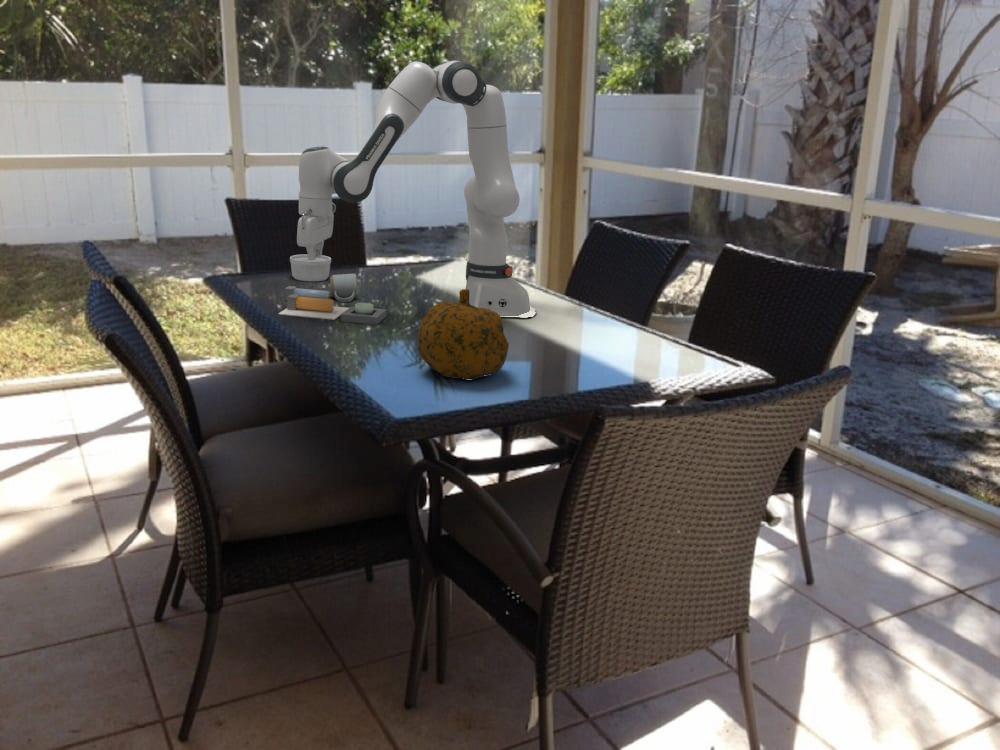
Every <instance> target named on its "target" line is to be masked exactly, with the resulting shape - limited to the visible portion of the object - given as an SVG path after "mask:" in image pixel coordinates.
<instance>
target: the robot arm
mask: <svg viewBox="0 0 1000 750" xmlns="http://www.w3.org/2000/svg"><path fill="white" fill-rule="evenodd" d="M434 99H437V100H440V101H443V102H446V103H449V104H461V105H462V107H463V109H464V111H465V115H466V129H467V144H468V155H469V156H468V157H469V159H470V161H471V165H472V169H473V173H474V176H472V177H471V178H469V179H468V181H467V182H466V184H465V185H464V190H463V194H464V195H463V196H464V198H465V202H466V211H467V214H466V215H467V222H468V233H469V235H468V236H469V240H468V260H467V261H466V265H465V281H466V282H465V288H464V289H468V290H469V294H470V295H469V303H470V305H472V306H475V307H478V308H486V309H489V310H491V311H494V312H497V313H498V314H499V315H500V316H519V315H521V314H524V313H527V312H529V311H530V306H531V305H530V296H529V292H528V290H527V289H526V288H525V287H524V286H523V285H521V284H520V283H519V282H518V281H517V280H516V279H514V277H513V270H514V269H513V266H512V265H510V264H508V263H507V255H508V254H507V253H508V252H507V251H508V233H507V232H506V226H505V219H504V218H508V217H510V216H512V215H514V213H515V212H516V211H517V209H518V207H519V204H520V193H519V191H518V190H517V187H516V183H515V177H514V173H513V170H512V165H511V161H510V156H509V147H508V146H509V144H508V129H507V126H508V125H507V114H506V109H505V103H504V100H503V95H502V92H501V91H500V89H499V88H497V87H496V86H495V85H491V84H486V83H485V81H484V79H483V77H482V76H481V74H480V72H479V71H478V69H477V68H476V67H475V66H474V65H473V64H471V63H469V62H467V61H462V60H449V61H447V62H443V63H440V64H437V65H435V66H433V67H430V65H428V64H427V63H424V62H421V61H412V62H410V63H408V65H406V66H405V67H404V68H403V69H402V70H401V71H400V72H399V74H397V76H395V77H394V79H393V80H392V81H391V83H390V84H389V86H388V87H387V88H386V90H385V91H384V93H383V94H382V96H381V97H380V99H379V102H378V104H377V106H376V108H375V124H374V128H373V131H372V132H371V135H370V136H369V138H368V139H367V140H366V143H364V145H363V146H362V148H361V150H360V151H359V153H358V154H357V155H356V156H355V158H354V159H353V160H351V159H348V158H345V157H344V156H341V155H339V154H338V153H336V152H334V151H333V150H332V149H331V148H329V147H328V146H314V147H310V148H305V149H304V150H303V152H301V154H300V157H299V165H298V183H299V191H298V193H299V194H298V214H299V215H301V217H299V219H298V221H297V230H296V231H297V233H296V244H297V246H299V247H304V248H306V252H307V254H308V260H315V259H316V257H321V256H322V255H323V248H324V244H325V242H324V241H326V240H328V239H330V238H332V235H333V231H334V219H335V218H334V217H335V214H334V213H335V212H336V208H337V207H336V204H335V203H334V202H333V195H334V194H336V195H337V196H338V197H339V198H340V200H342V201H344V202H346V203H350V204H357V203H360V202H363V201H364V200H365V199H367V198H368V197H369V196H370V194H371V192H372V190H373V186H374V181H375V177H376V174H377V172H378V171H379V169H380V167H381V165H382V164H383V163H384V161H385V159H386V158H387V157H388V155H389V153H390V152H391V150H392V149H393V148H394V146H395V144H396V143H397V142H398V141H399V140H400V138H401V137H402V136H403V135H404V134H405V133H406V132H407V131H408V130H409V129H410V128H411V127H412V125H413V124H415V122H416V121H417V120H418V118H420V115H421V113H423V111H424V110H425V109H426V106H427V105H428V104H429V103H430V102H432V100H434Z"/></svg>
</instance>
